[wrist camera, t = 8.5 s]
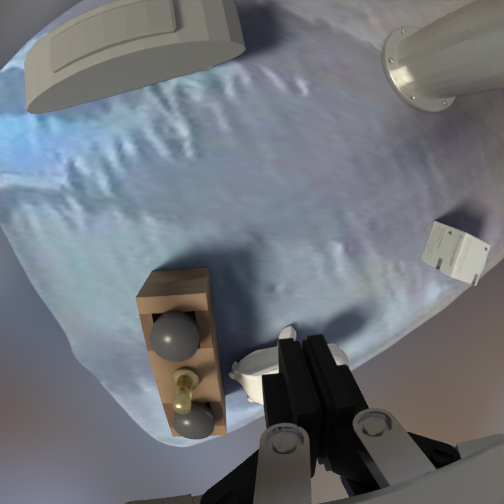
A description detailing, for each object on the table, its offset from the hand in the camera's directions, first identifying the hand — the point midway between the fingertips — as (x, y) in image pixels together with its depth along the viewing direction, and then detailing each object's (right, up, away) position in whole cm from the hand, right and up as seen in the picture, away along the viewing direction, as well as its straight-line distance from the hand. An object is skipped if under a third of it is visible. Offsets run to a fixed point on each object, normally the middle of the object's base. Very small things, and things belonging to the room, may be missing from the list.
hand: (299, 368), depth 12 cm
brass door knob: (-9, -9, +21) cm, 25 cm away
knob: (-10, -2, +26) cm, 28 cm away
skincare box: (+25, +5, +29) cm, 39 cm away
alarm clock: (-15, +26, +19) cm, 36 cm away
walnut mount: (-10, -7, +29) cm, 31 cm away
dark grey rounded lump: (-9, -13, +29) cm, 34 cm away
